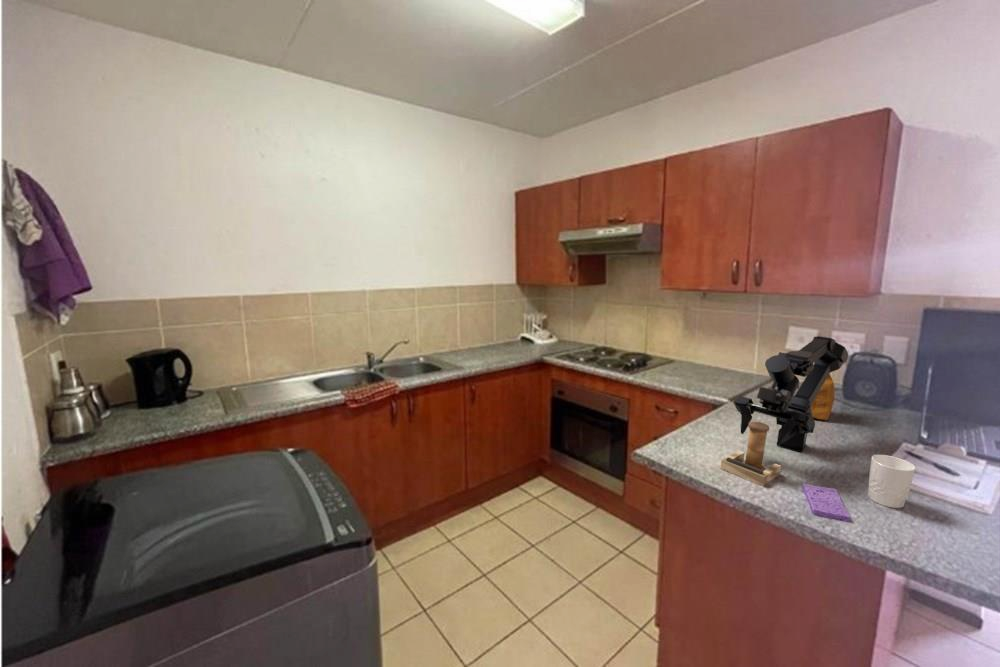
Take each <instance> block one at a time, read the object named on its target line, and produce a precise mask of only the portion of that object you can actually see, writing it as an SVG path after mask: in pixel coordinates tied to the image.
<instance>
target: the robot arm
mask: <svg viewBox="0 0 1000 667" xmlns="http://www.w3.org/2000/svg"><path fill="white" fill-rule="evenodd" d="M848 358H849V352H848V350H847V348H846V347H845V346H843V345H842V344H840V343H838V342H837V341H836V339H834V338H832V337H827V336H821V335H817V336H814V337H813V338H812V340H811V341H810V342H809V343H807V344H806V345H805V346H803V347H802V348H800V349H799V350H795V351H793V350H792V351H788V352H778V354H776V355H773V356H770V357H769V358H767V359H766V360H765V363H764V364H765V365H764V366H765V368H766V371H767V374H768V376H769V377H770V379H771V381H772V385H771V386H770V387H768V388H766V387H764V386H763V387H762V386H760V387H759V389H758V393H757V396H756V398H757V399H759V404H761V405H758V404H756V403H755V404H754V402H753V399H752V398H749V397H746V396H742V395H738V396H736V397H735V399H734V400H733V404H734V407H735V409H736V411H738V412H739V413H740V415H741V416H740V417H741V418H740V419H741V420H740V421H741V422H740V433H741V434H742V435H744V434H745V432H746V431H747V429H748V428H749V427H748V425H749V422H752V419H753V416H752V415H754V413H755V412H756V413H759V414H762V415H765V416H769V417H771V418H772V417H774V418H775V419H776V421H775V422H776V425H779V426H781V427H780V428H779V429H778V433H777V441H776V446H777V447H781V448H784V449H788V450H791V451H794V452H798V453H803V451H805V449H806V448H807V447H808V445H807V438H808V434H813V433H814V430H815V425H816V422H815V420H814V419H815V418H813V416H812V410H811V404H812V402H813V401H814V399H815V397H816V396H817V394H818V392H819V391H820V389H821V387H822V385H823V384H824V382H825V380H826V379H827V377H828V375H829V374H830V375H831V373H832V372H835V371H837V370H840V369H841V368H842V366H843V365H844V364H845V363H846V362H847V361H848ZM797 376H798V377H804V380H803V381H802V383H801V384H800V380H799V378H798V377H797Z"/></svg>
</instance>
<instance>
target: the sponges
mask: <svg viewBox="0 0 1000 667" xmlns="http://www.w3.org/2000/svg"><path fill="white" fill-rule="evenodd" d="M802 491H803V493H804V495H806V496H805V498H806V501H807V503H808V506H809V509H810V512H811V514H813V515H815V516H817V517H819V516H820V517H824V518H829V519H834V520H838V521H844V522H850V519H851V518H850V517H851V516H850V515H849V513H848V511H847V509H846V507H845V505H844V502H843V501H842V500H841V497H840V495H839V493H838V491H837V489H836V488H830V487H822V486H817V485H812V484H807V483H802Z"/></svg>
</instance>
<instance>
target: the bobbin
mask: <svg viewBox="0 0 1000 667" xmlns="http://www.w3.org/2000/svg"><path fill="white" fill-rule="evenodd" d="M747 428H749V431H748V438H747V439H748V440H747V444H746V446H747V447H746V452H745V458H744V459H745V460H743V461H742V463H745V464H748V465H750V466H753V467H755V468H758V469H761V470H763V471H764V470H766V469H767V468H766V467H765V466H764V465H763V462H764V461H763V460H764V454H765V447H766V440H767V435H768V432H769V431H770V426H769V425H768V424H767V423H763V422H761V421H750V422H749V425H748V427H747Z"/></svg>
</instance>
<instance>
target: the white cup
mask: <svg viewBox="0 0 1000 667" xmlns="http://www.w3.org/2000/svg"><path fill="white" fill-rule="evenodd" d="M916 469H917V468H916V466H915V464H913V463H912V462H910V461H907V460H904V459H903V458H900V457H896V456H891V455H887V454H873V455H872V456H871V461H870V468H869V475H868V476H869V477H868V490H867V497H868V498H869V499H870V500H871V501H873V502H875V503H876V504H879V505H881V506H883V507H889V508H895V509H900V508H904V506H905V502H906V499H907V498H908V495H909V492H910V491H911V490H910V489H911V486H912V482H913V478H914V475H915V472H916Z"/></svg>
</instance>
